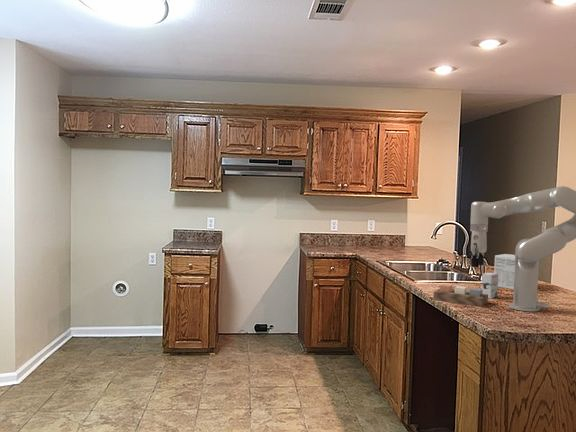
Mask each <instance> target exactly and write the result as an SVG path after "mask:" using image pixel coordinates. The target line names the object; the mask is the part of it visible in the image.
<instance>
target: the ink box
mask: <svg viewBox="0 0 576 432" xmlns="http://www.w3.org/2000/svg"><path fill="white" fill-rule="evenodd" d="M481 289H483V294H488V299H493V298H495V297H496V298H497V297H498V289H499V287H498V273H494V272H486V273H482V279H481Z"/></svg>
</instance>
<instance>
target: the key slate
mask: <svg viewBox="0 0 576 432" xmlns="http://www.w3.org/2000/svg"><path fill="white" fill-rule="evenodd" d="M469 292H470V295H471V296H478V297H481V296H482V294H483V289H482V288H475V287H471V288H470V289H469Z"/></svg>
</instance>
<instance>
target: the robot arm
mask: <svg viewBox="0 0 576 432" xmlns="http://www.w3.org/2000/svg"><path fill="white" fill-rule="evenodd" d="M557 207H559V208H562V209H565V210H567V211H568V212H571V213H573V216H572V217H570V218H569V219H567V220H565V221H564V222H562V223H560V224H557V225H555V226H552V227H550V228H547V229H545V230H543V231H542V232H541V233H540V234H538V235H536V236H534V237H532V238H531V237H530V238H523V239H520V240H519V241H518V242H517V244H516V245H515V250H514V251H515V252H514V255H515V276H514V289H513V296H512V297H513V300H512V302H510V303H509V304H508V306H509V308H511V309H513V310H517V311H521V312H522V311H523V312H540V311H541V308H544V309H548V307H549V306H548V303H546V302H541V301H539V299H538V285H539V284H538V282H539V265H540V264H539V263H540V261H539V260H542V259H545V258H547V257H549V256H551V255H553V254H556V253H558V252H560V251H561V250H563V249H564V248H565V247H566V246H567V244H568V243H570V242H572V241H574V240H575V239H576V190H575V189H572V188H571V187H568V186H564V185H563V186H556V187H552V188H547V189H542V190H538V191H534V192H529V193H526V194H523V195H520V196H515V197H511V198H507V199H502V200H497V201H492V202H486V201H473V202H472V203H471V206H470V227H469V228H470V229H469V230H470V232H471V236H470V237H471V238H470V239H471V240H470V252H471V261H470V262H471V263H470V265H471V266H470V267H471V268H472V267H473V268H479V266H484V263H485V262H484V260H485V257H484V256H485V253H486V252H487V248H488V246H487V244H488V243H487V242H488V241H487V240H488V239H487V233H488V230H489V229H488V228H489V227H488V226H489V218H493V219H501V218H503V217H507V216H511V215H515V214H517V215H518V214H524V213H535V212H539V211H540V212H541V211H544V210H549V209H553V208H557Z"/></svg>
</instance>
